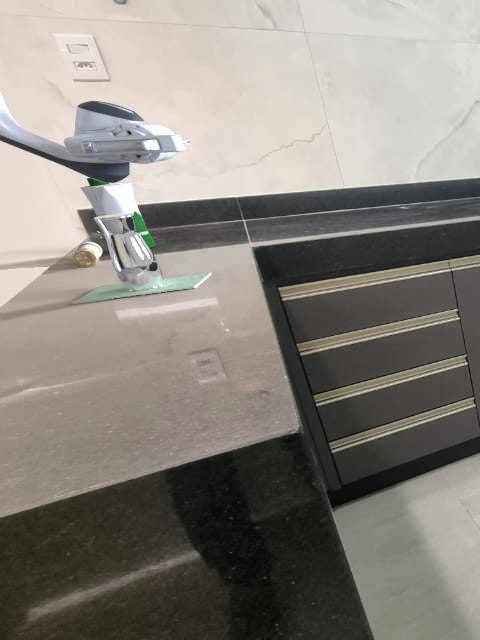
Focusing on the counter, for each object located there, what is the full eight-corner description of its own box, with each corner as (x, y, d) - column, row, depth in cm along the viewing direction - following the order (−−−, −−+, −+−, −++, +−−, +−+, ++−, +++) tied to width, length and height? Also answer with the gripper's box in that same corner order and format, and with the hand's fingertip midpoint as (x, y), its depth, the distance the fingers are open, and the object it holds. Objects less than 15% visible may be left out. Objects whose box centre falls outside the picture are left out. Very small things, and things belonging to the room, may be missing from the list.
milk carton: (137, 245, 159) (106, 176, 150) (162, 245, 157) (132, 175, 149) (106, 252, 151) (71, 179, 142) (132, 252, 149) (99, 178, 141)
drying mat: (73, 304, 105) (72, 302, 104) (102, 287, 115) (101, 286, 115) (195, 288, 112) (194, 286, 111) (211, 274, 122) (210, 272, 122)
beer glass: (84, 217, 106) (118, 289, 112) (98, 219, 102) (133, 293, 109) (127, 211, 111) (158, 280, 117) (142, 213, 108) (172, 284, 114)
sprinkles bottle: (90, 270, 135) (96, 261, 145) (102, 255, 136) (106, 248, 145) (67, 260, 132) (74, 252, 142) (78, 245, 133) (84, 238, 142)
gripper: (197, 155, 130) (178, 159, 118) (91, 160, 123) (60, 165, 111) (187, 127, 127) (167, 128, 115) (77, 131, 120) (44, 133, 108)
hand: (113, 146), depth 113 cm, fingers open, 8 cm apart
